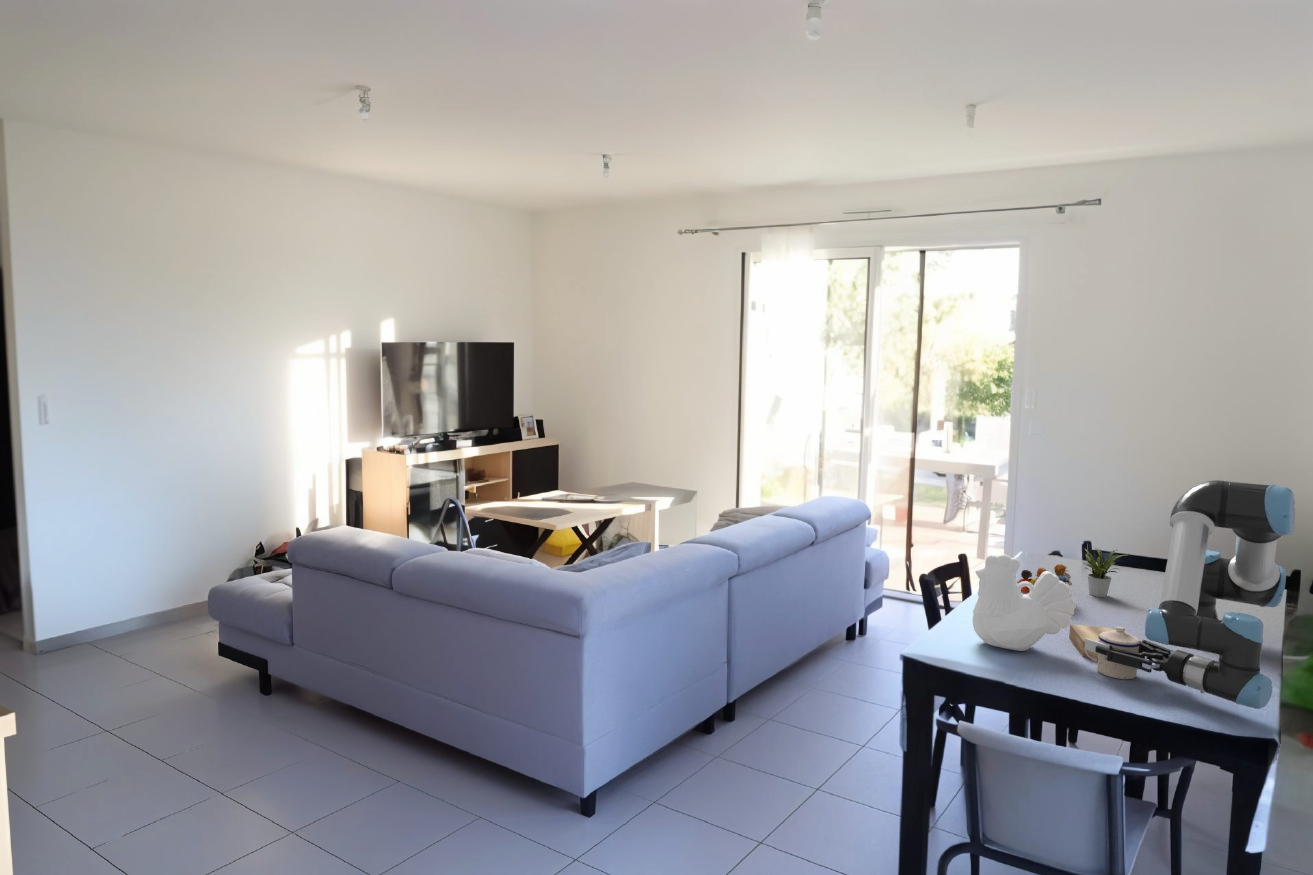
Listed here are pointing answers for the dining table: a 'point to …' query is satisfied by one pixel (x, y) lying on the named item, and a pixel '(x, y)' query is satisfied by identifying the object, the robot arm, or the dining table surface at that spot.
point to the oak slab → (1085, 636)
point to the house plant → (1099, 573)
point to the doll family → (1026, 574)
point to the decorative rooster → (1019, 605)
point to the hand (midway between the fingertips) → (1096, 640)
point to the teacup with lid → (1118, 641)
